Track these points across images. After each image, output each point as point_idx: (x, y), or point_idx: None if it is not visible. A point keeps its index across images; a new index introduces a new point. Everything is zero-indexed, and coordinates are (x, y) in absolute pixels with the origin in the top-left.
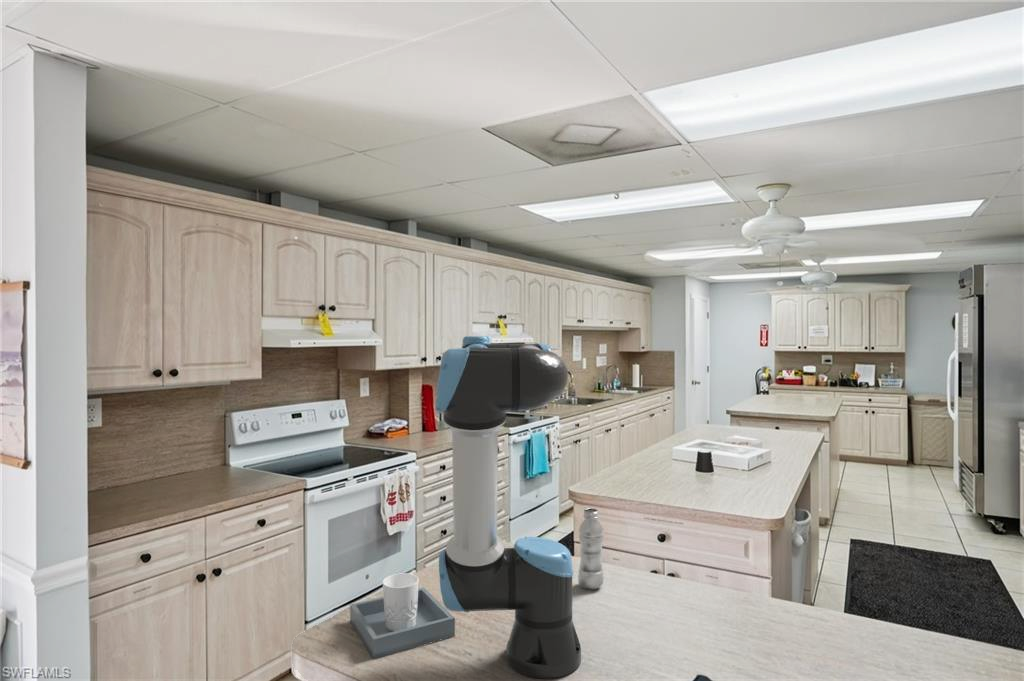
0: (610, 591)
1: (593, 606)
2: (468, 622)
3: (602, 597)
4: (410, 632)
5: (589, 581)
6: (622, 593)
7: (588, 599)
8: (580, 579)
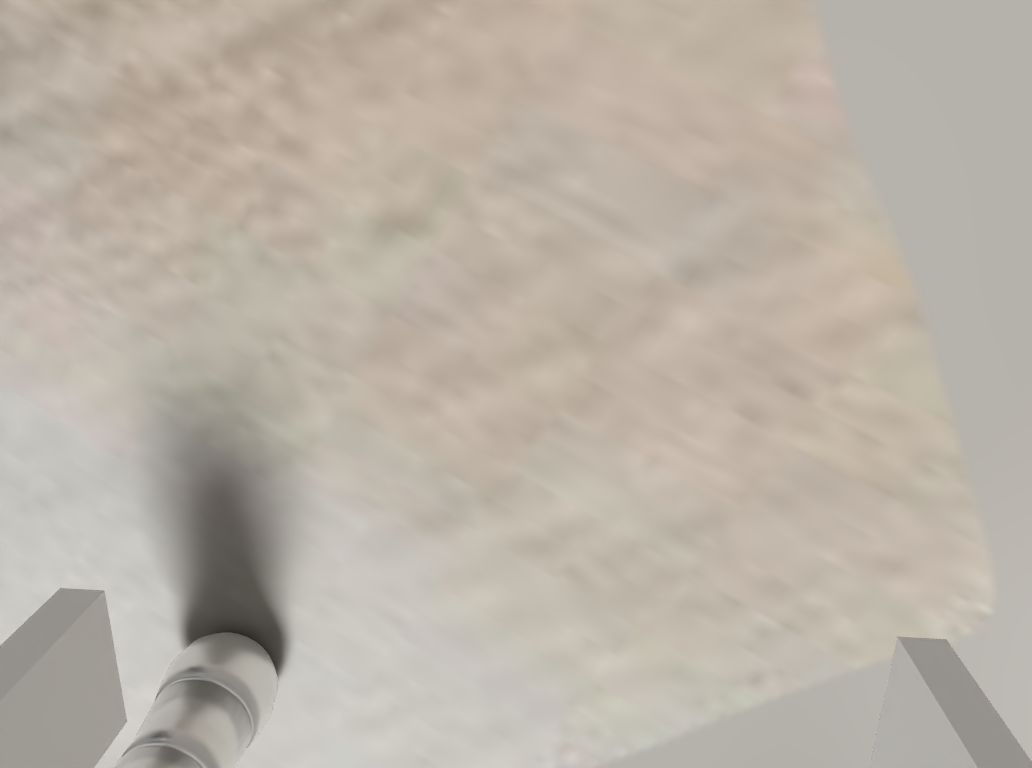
0: None
1: (80, 569)
2: (148, 32)
3: (136, 641)
4: None
5: (175, 661)
6: (137, 716)
7: (142, 590)
8: (214, 646)
